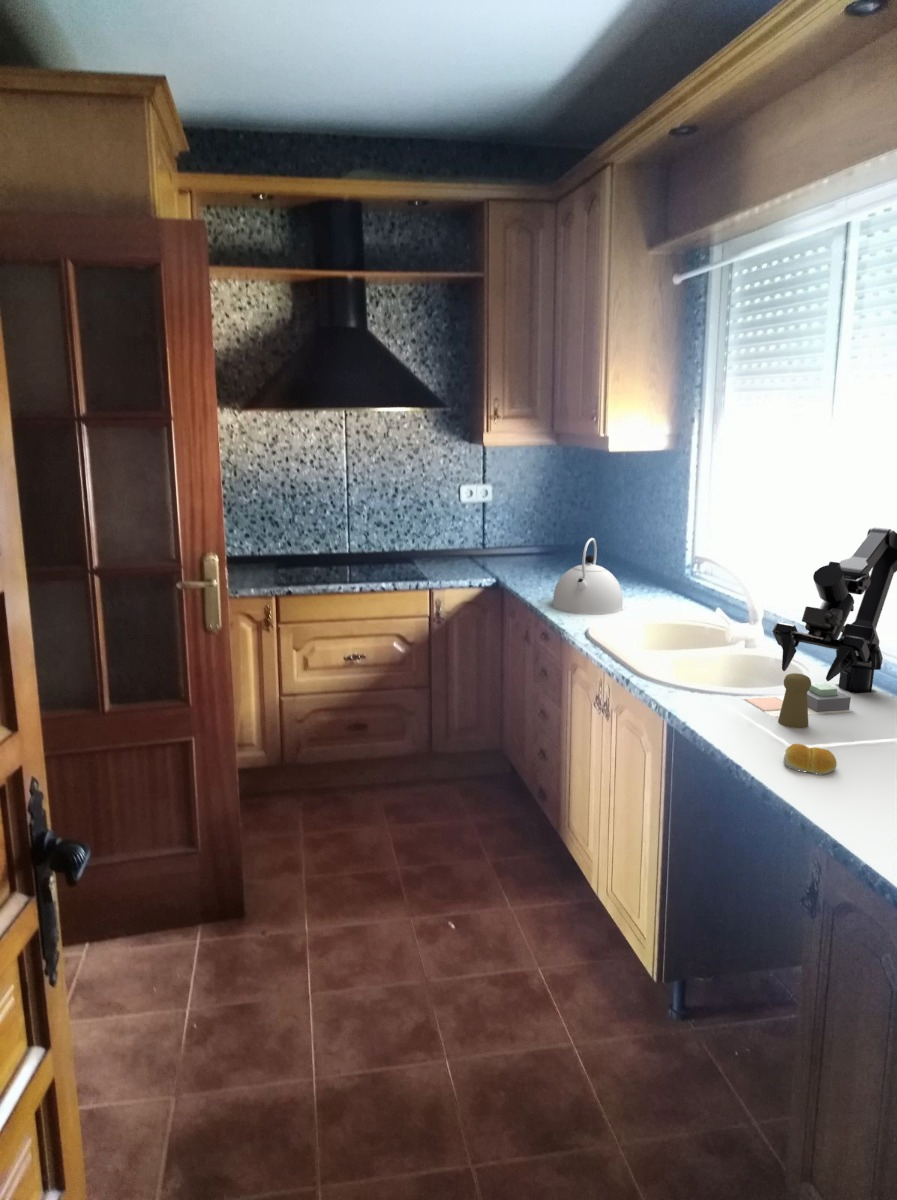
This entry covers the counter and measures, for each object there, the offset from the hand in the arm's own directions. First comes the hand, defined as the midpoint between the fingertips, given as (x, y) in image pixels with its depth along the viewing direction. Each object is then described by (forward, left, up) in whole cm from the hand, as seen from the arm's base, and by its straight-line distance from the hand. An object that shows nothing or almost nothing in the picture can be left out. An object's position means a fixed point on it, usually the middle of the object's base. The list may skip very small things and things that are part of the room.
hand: (804, 674), depth 181 cm
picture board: (-5, -8, -10) cm, 14 cm away
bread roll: (+12, +21, -11) cm, 26 cm away
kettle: (+4, -109, -11) cm, 109 cm away
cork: (+3, +2, -10) cm, 11 cm away
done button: (-10, -7, -8) cm, 15 cm away
